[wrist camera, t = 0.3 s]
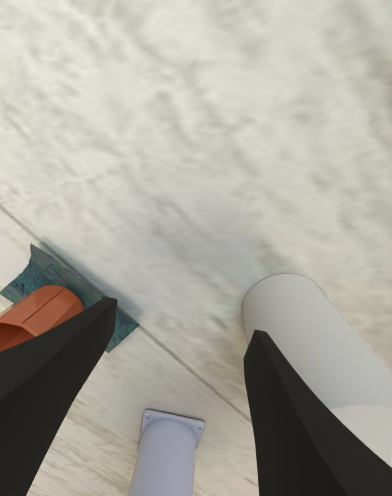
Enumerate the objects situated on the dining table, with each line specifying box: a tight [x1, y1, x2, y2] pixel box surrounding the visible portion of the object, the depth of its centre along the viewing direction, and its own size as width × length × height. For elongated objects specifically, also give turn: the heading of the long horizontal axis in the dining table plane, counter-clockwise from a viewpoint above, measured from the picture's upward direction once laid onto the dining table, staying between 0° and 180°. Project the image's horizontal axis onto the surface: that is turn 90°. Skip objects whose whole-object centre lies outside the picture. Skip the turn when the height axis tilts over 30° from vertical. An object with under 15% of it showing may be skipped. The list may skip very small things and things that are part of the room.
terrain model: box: [0, 244, 139, 353], centre depth 22 cm, size 13×8×2 cm, turn 49°
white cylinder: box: [242, 274, 392, 467], centre depth 16 cm, size 8×8×12 cm
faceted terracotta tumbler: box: [0, 285, 84, 351], centre depth 19 cm, size 5×6×5 cm
